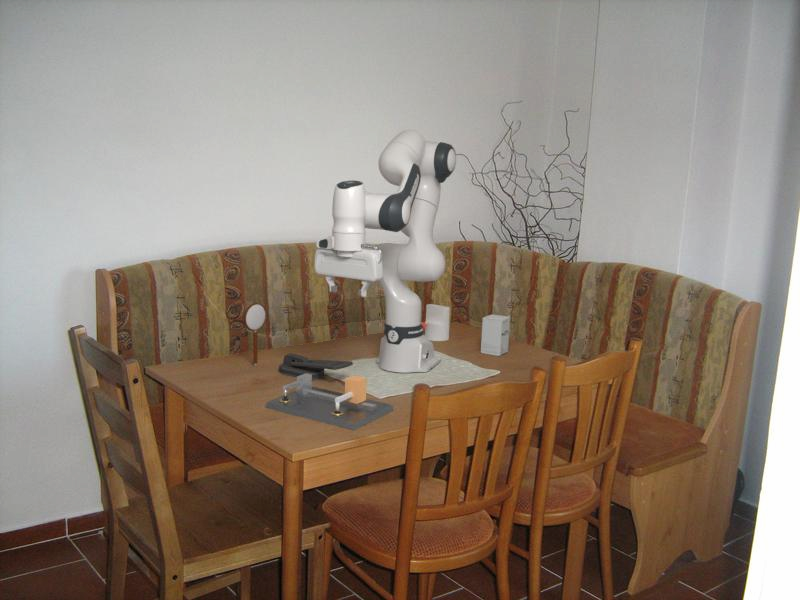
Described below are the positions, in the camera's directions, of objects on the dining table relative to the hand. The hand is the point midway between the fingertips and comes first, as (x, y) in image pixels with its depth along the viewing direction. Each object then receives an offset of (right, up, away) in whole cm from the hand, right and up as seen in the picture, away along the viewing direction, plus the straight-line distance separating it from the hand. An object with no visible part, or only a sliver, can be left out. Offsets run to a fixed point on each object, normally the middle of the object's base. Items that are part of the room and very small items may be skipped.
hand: (347, 294), depth 208 cm
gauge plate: (-4, -30, -4) cm, 31 cm away
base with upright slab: (+28, -16, +77) cm, 84 cm away
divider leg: (+1, -29, -8) cm, 30 cm away
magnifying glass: (-31, -22, +34) cm, 51 cm away
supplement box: (+47, -20, +59) cm, 78 cm away
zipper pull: (-12, -25, +24) cm, 37 cm away
